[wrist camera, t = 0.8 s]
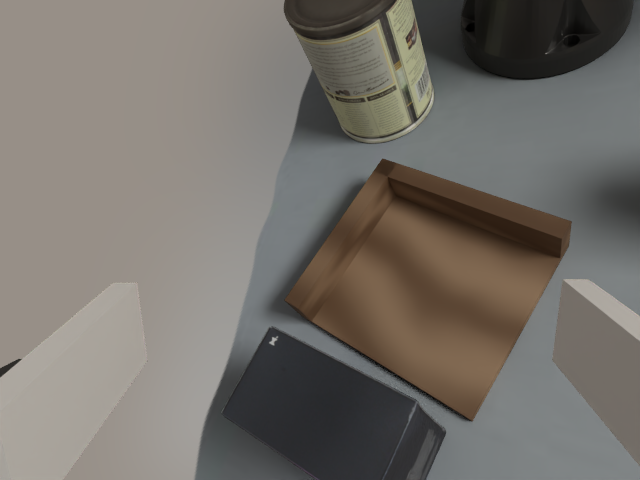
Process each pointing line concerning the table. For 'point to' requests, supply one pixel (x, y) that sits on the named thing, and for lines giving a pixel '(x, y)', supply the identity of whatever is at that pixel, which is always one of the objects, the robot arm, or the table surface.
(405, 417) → the small box
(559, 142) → the table surface
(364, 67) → the coffee can
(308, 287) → the corner tray
